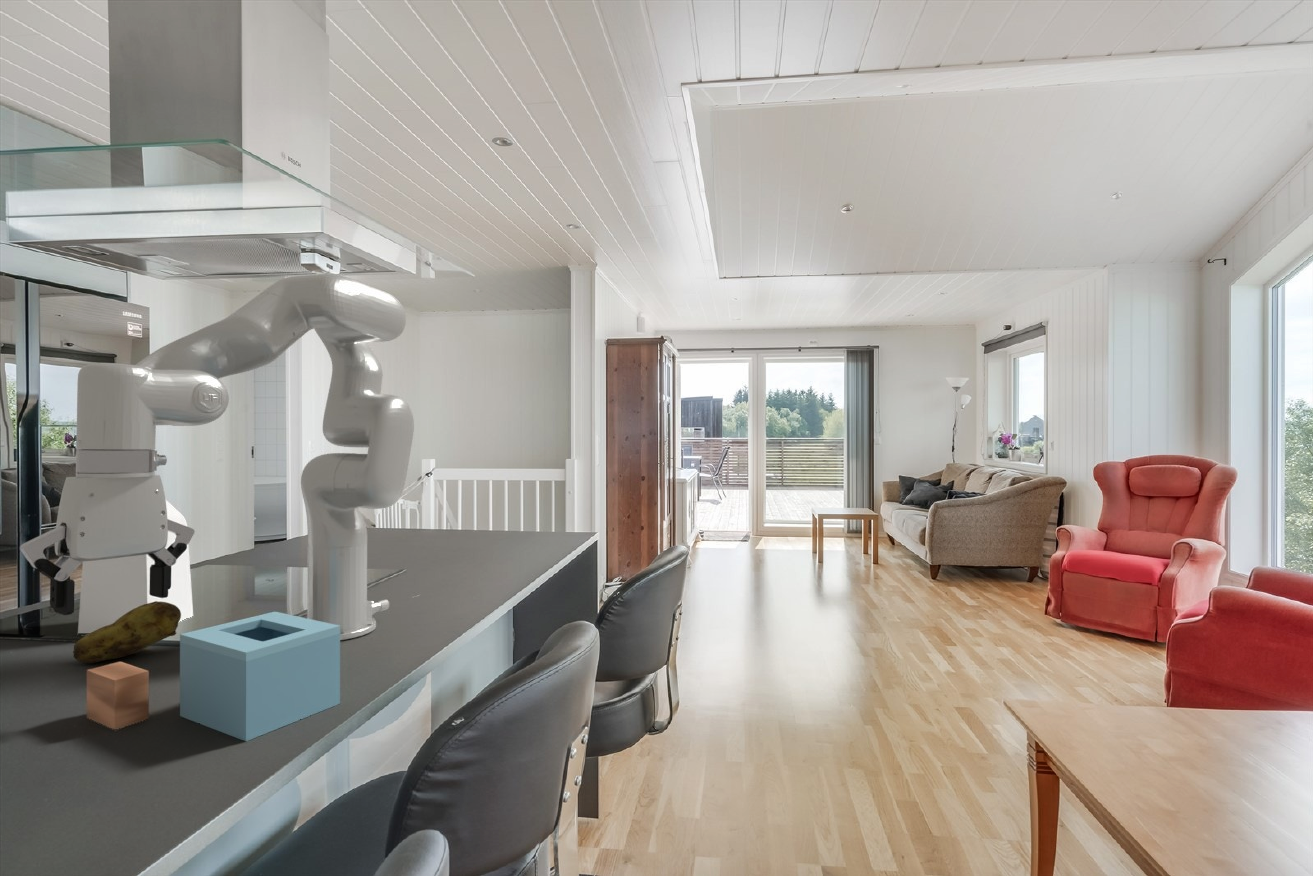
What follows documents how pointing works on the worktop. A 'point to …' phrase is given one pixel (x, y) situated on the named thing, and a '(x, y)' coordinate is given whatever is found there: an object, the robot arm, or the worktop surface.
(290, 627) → the box
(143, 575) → the milk
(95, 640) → the potato
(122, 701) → the brown wooden block
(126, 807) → the worktop surface
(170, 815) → the worktop surface
